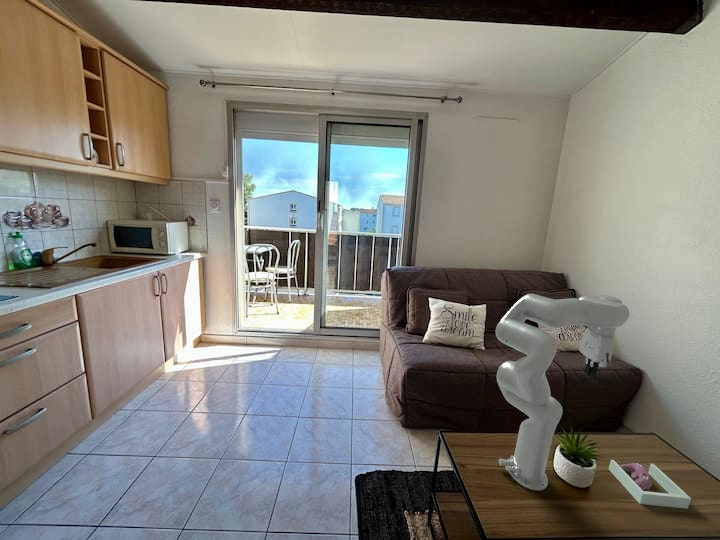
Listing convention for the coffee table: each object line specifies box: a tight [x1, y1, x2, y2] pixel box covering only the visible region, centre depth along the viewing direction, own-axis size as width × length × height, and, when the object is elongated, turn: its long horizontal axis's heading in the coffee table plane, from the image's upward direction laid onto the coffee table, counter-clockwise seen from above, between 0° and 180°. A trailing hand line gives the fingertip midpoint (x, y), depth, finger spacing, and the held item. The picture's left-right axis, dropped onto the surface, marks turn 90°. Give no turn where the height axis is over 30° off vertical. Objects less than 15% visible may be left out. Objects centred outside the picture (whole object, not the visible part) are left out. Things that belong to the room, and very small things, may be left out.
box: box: [608, 459, 692, 510], centre depth 100 cm, size 15×13×4 cm
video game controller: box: [619, 462, 653, 491], centre depth 102 cm, size 10×5×7 cm, turn 153°
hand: (589, 374), depth 110 cm, fingers closed
